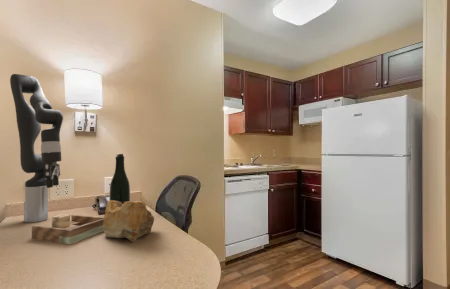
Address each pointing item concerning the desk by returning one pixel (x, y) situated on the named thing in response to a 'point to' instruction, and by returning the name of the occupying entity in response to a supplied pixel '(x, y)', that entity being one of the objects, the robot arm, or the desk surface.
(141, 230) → the rough brown rock
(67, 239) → the tray
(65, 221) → the birch block
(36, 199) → the robot arm
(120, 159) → the dark green wine bottle
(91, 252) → the desk surface
